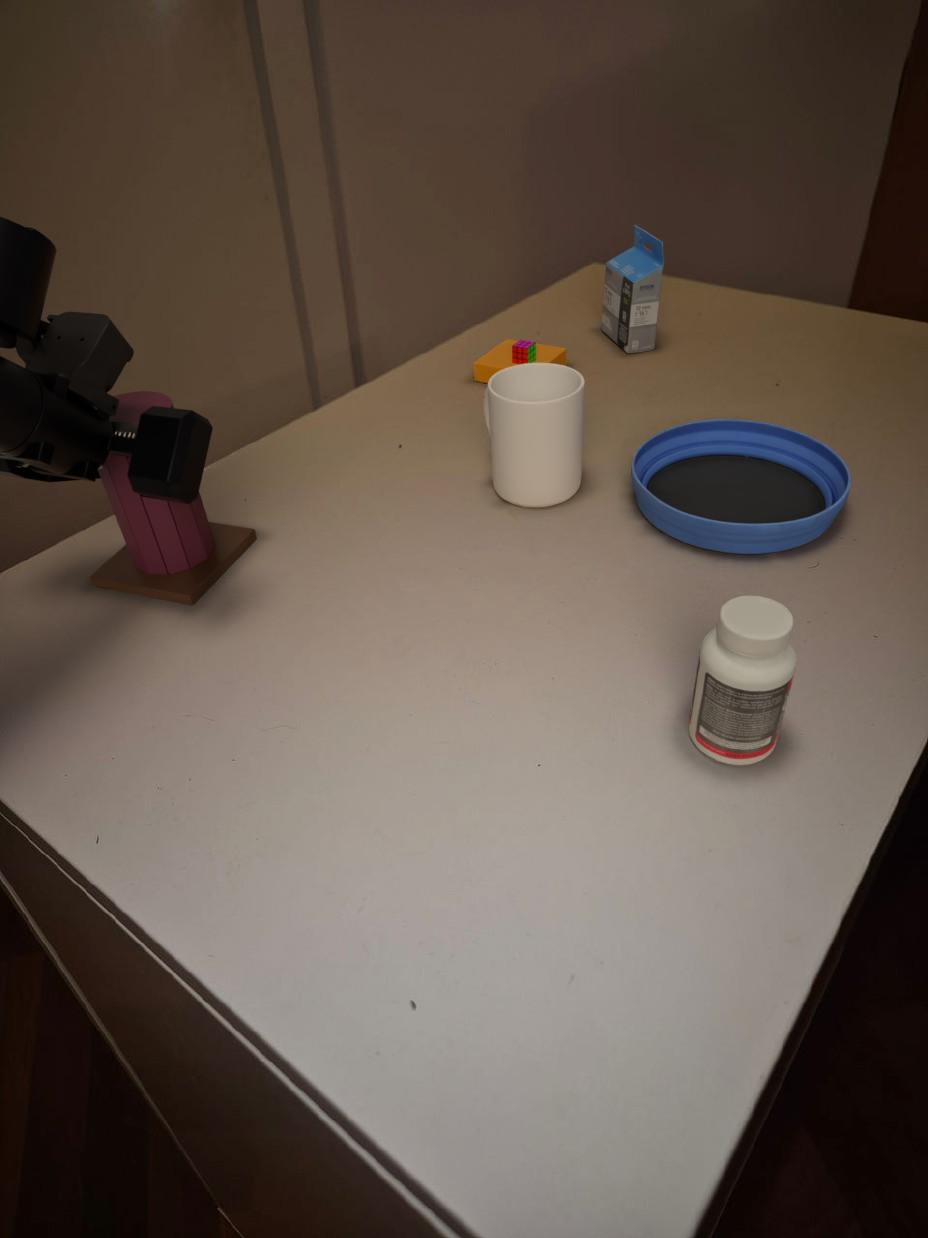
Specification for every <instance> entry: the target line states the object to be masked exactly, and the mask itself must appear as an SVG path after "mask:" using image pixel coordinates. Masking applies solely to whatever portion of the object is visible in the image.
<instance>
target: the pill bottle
mask: <svg viewBox="0 0 928 1238" xmlns="http://www.w3.org/2000/svg"><path fill="white" fill-rule="evenodd" d="M718 613H719V614H718V618H717V622H716V625H715V627H713V629H711V630H710V631H709V632H708V633H707V634H706V635H705V637H704V638H703V639H702V641H701V644H700V648H699V653H698V660H697V666H696V672H695V680H694V686H693V692H692V698H691V706H690V711H689V712H690V713H689V721H688V732H689V737H690V738H691V740H692V742H693V744H694V745H695V747H697V748H698V750H699V751H701V752H702V753H703V754H704V755H706V756H707V757H709V758H711V759H713V760H715V761H717V762H719V763H722V764H723V763H724V764H727V765H733V766H747V765H752V764H756V763H758V762H760V761H762V760H765V759H766V758H768V756H770V755H771V754H772V752H773V751H774V749H775V747H776V744H777V741H778V737H779V734H780V730H781V727H782V722H783V719H784V715H785V713H786V708H787V707H786V706H787V703H788V699H789V696H790V691H791V689H792V684H793V681H794V677H795V674H796V673H795V672H796V669H797V662H798V661H797V653H796V650H795V648H794V646H793V645H792V643H791V640H792V637H793V636H792V633H793V630H794V617H793V615H792V613H791V612H790V610H789V609H788V608H787V607H786V606H785V605H784V604H782V603H781V602H778V601H777V600H774V599H772V598H769V597H767V596H760V595H740V596H735V597H734V598H732V599H731V598H730V599H728V600H727V601H726V602H725V603H724V604H723V605H722V606H721V608H720V609H719V612H718Z"/></svg>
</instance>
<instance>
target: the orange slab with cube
mask: <svg viewBox="0 0 928 1238" xmlns="http://www.w3.org/2000/svg"><path fill="white" fill-rule="evenodd" d="M527 363H553V364H559V365H564V366H567V348H566V347H562V346H561V347H560V346H555V345H548V344H543V343H537V342H536V341H531V340H525V339H513V338H505V340H503V341H502V342H501V343H499V344H497V345H496V346H495V347H493V348H492V349H490V350H489V351H488V352H486V353H485V354H484V355H482V356H481V357H479V358H478V359H476V360H475V361H474V362H473V365H472V366H473V378H474V381H475V382H479V383H483V384H484V383H485V384H488V382H489V379H490V378H491V377H492V376H493V375H494V374H495V373H497V372H499V371H501V370H503V369H505V368H508V367H511V366H515V365H520V364H527Z"/></svg>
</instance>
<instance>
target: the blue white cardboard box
mask: <svg viewBox="0 0 928 1238" xmlns="http://www.w3.org/2000/svg"><path fill="white" fill-rule="evenodd" d="M648 243H649V246H650V247H652V250H653V251H652V250H651V249H649V248H647V247H646V246H645V244H648ZM664 264H665V261H664V242H663V241H661V240H660V239H659V238H657V237H656V236H654V235H653V234H651V233H650V232H648V231H646V230H644V229H643V228H641V227H639V226H638V225H636V224H634V225H633V246H631V247H630V248H628V249H626V250H625V251H623V252H622V253H620V254H618V255H616V256H614V257H613V258H611V259H610V260H608V261H607V262H605V269H604V270H605V271H604V284H603V298H602V310H601V311H602V312H601V323H600V330H601V331H602V332H603V333H604V334H606V335H607V336H608V337H609V338H610V339H611V340H612V341H613V342H614V343H616V344H617V345H618V346H619V347H620V348H621V349H622V350H623V351H625V352H626V353H627V354H632V353H633V354H634V353H642V352H643V353H644V352H649V351H654V350H655V347H656V337H657V336H656V335H657V326H658V318H659V317H658V316H659V309H660V299H661V289H662V279H663V272H664V266H665V265H664Z"/></svg>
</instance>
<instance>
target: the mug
mask: <svg viewBox="0 0 928 1238" xmlns="http://www.w3.org/2000/svg"><path fill="white" fill-rule="evenodd" d="M585 384H586V383H585V378H584V376H583V375H582V374H581V372H579V371H578V370H576V369H574V368H573V367H570V366H567V365H566V366H564V365H559V364H553V363H527V364H520V365H515V366H511V367H508V368H505V369H503V370H501V371H499V372H497V373H495V374H494V375H493V376H492V377H491V378H490V379H489V382H488V383H487V387H486V389H485V391H484V394H483V401H482V409H483V418H484V422H485V423H484V424H485V426H486V429H487V432H488V434H489V441H490V442H489V444H490V461H491V464H490V465H491V466H490V467H491V479H492V485H493V488H494V491H495V492H496V493H497V495H498V496H499V497H500V498H502V499H503V501H505V502H508V503H509V504H513V505H515V506H519V507H523V508H536V509H537V508H547V507H552V506H556V505H559V504H562V503H564V502H566V501H568V500H570V499H571V498H572V497H574V495H575V494H576V493H577V492H578V490H579V489H580V487H581V482H582V475H583V455H584V454H583V451H584V449H583V448H584V420H585V419H584V417H585V415H584V413H585V412H584V411H585Z"/></svg>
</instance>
